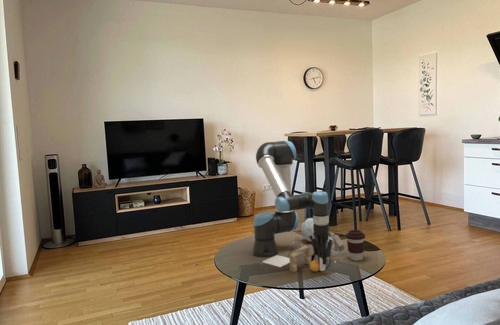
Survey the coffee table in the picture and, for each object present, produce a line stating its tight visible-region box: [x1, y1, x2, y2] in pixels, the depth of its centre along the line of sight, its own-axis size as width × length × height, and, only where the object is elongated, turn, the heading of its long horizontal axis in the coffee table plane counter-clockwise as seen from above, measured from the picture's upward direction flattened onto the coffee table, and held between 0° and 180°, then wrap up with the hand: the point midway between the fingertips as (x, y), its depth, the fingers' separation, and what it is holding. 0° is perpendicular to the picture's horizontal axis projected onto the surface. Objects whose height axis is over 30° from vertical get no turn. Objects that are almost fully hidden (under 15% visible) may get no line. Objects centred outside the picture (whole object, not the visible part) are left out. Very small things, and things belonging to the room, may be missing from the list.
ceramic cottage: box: [326, 231, 346, 258], centre depth 213 cm, size 16×16×15 cm
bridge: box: [288, 245, 312, 273], centre depth 192 cm, size 3×14×9 cm, turn 136°
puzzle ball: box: [300, 217, 314, 243], centre depth 233 cm, size 15×15×15 cm
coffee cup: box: [345, 229, 366, 262], centre depth 199 cm, size 10×10×15 cm
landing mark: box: [262, 254, 290, 268], centre depth 203 cm, size 13×13×1 cm
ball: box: [309, 259, 320, 272], centre depth 186 cm, size 6×6×6 cm
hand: (322, 269), depth 183 cm, fingers closed
